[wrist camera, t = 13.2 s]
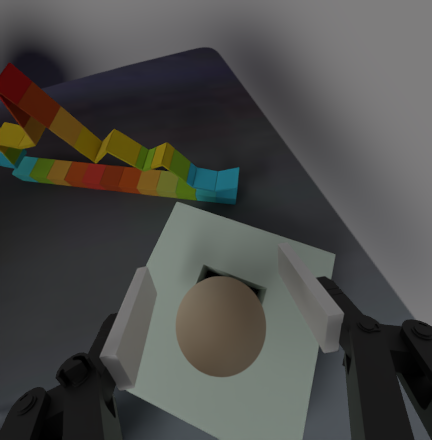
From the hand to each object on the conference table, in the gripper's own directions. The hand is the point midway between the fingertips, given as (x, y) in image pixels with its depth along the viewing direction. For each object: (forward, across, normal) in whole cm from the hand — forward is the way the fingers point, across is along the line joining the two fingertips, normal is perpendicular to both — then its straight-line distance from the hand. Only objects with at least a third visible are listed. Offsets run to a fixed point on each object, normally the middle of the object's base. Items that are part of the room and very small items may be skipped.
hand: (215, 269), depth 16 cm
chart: (+16, -10, +4) cm, 20 cm away
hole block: (+3, 0, -8) cm, 9 cm away
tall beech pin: (+3, 0, -8) cm, 9 cm away
